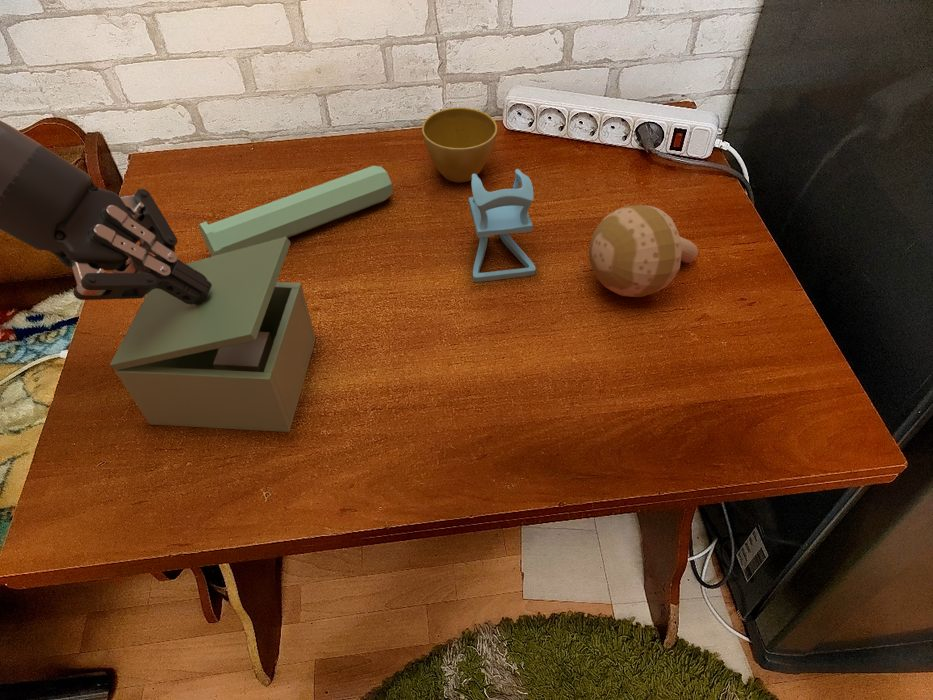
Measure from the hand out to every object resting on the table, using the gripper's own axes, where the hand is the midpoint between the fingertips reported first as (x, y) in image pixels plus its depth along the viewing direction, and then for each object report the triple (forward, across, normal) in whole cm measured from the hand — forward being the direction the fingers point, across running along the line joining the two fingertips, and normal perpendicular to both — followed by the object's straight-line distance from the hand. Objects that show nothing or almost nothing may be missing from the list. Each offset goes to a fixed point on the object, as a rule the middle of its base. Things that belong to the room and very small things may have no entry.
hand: (205, 294), depth 64 cm
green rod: (+10, +25, +8) cm, 29 cm away
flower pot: (+24, +39, -5) cm, 46 cm away
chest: (+9, 0, +10) cm, 13 cm away
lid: (+1, 0, +1) cm, 1 cm away
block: (+10, 0, +8) cm, 12 cm away
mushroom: (+41, +18, -22) cm, 50 cm away
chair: (+28, +21, -10) cm, 37 cm away
